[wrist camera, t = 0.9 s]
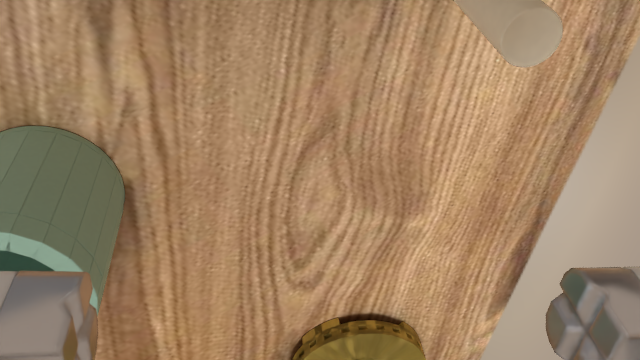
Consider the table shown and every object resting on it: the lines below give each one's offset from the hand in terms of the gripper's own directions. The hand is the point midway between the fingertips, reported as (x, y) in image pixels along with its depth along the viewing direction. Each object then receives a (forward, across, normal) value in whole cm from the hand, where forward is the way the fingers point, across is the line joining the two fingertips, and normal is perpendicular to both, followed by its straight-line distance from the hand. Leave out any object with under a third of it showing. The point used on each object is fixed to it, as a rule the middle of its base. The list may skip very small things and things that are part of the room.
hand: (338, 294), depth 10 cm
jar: (+26, +14, +17) cm, 34 cm away
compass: (+26, -10, +36) cm, 46 cm away
